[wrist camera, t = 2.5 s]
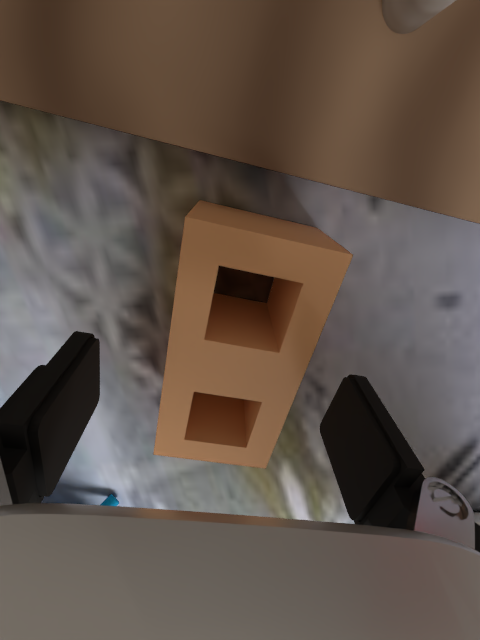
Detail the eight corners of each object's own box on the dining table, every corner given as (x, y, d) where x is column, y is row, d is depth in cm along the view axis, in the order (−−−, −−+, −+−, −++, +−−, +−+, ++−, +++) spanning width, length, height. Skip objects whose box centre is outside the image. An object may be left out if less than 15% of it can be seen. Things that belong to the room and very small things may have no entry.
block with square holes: (199, 200, 14) (184, 216, 10) (317, 227, 15) (353, 254, 10) (171, 388, 20) (153, 454, 15) (258, 402, 20) (265, 468, 16)
